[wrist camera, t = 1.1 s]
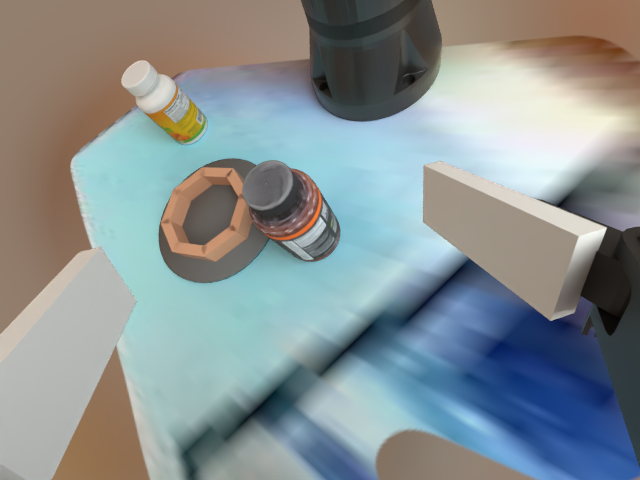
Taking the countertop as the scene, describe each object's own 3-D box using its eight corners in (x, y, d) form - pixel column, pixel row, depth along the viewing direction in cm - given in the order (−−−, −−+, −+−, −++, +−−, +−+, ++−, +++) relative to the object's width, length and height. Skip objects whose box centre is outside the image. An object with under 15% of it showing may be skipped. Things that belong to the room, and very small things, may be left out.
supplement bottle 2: (280, 227, 32) (219, 173, 22) (327, 200, 32) (286, 132, 21) (300, 273, 30) (242, 237, 20) (351, 245, 29) (319, 193, 19)
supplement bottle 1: (170, 136, 43) (108, 83, 34) (194, 109, 43) (139, 50, 34) (190, 151, 40) (129, 98, 32) (215, 123, 41) (162, 62, 32)
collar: (192, 175, 38) (182, 166, 36) (264, 177, 34) (256, 168, 33) (164, 253, 35) (150, 248, 33) (239, 265, 32) (229, 260, 30)
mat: (186, 160, 40) (184, 157, 40) (291, 161, 35) (289, 159, 34) (144, 272, 36) (140, 271, 35) (256, 293, 30) (253, 293, 30)
